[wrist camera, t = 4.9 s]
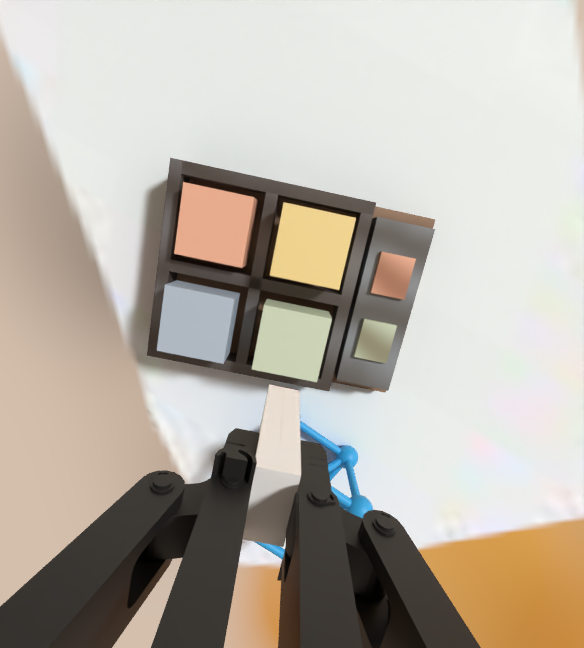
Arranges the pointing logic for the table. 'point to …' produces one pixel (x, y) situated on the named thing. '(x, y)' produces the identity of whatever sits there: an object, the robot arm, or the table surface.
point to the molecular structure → (345, 459)
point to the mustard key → (312, 246)
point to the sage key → (291, 340)
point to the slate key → (197, 321)
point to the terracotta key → (215, 225)
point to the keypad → (343, 305)
